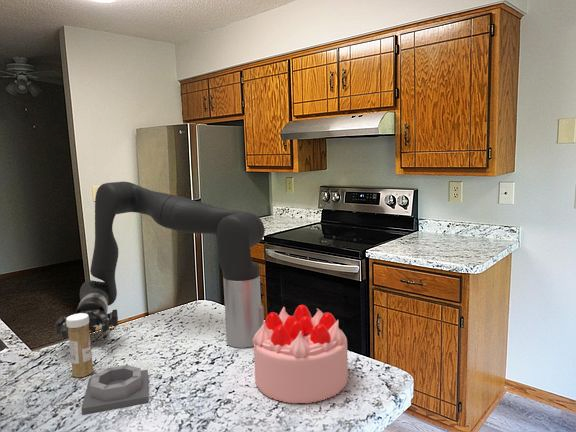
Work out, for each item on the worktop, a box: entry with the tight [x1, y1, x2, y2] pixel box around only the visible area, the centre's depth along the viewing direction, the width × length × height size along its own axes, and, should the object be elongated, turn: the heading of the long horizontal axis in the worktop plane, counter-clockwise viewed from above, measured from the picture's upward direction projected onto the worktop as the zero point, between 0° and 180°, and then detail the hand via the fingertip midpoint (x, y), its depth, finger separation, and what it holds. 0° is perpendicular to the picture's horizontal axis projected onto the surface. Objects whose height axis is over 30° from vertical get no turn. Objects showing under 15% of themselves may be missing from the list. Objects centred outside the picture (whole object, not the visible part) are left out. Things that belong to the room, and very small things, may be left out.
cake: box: [253, 304, 349, 404], centre depth 95 cm, size 20×20×14 cm
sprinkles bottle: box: [65, 313, 95, 378], centre depth 100 cm, size 5×5×13 cm
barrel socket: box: [80, 364, 149, 415], centre depth 92 cm, size 12×12×4 cm
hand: (84, 331), depth 107 cm, fingers open, 8 cm apart
